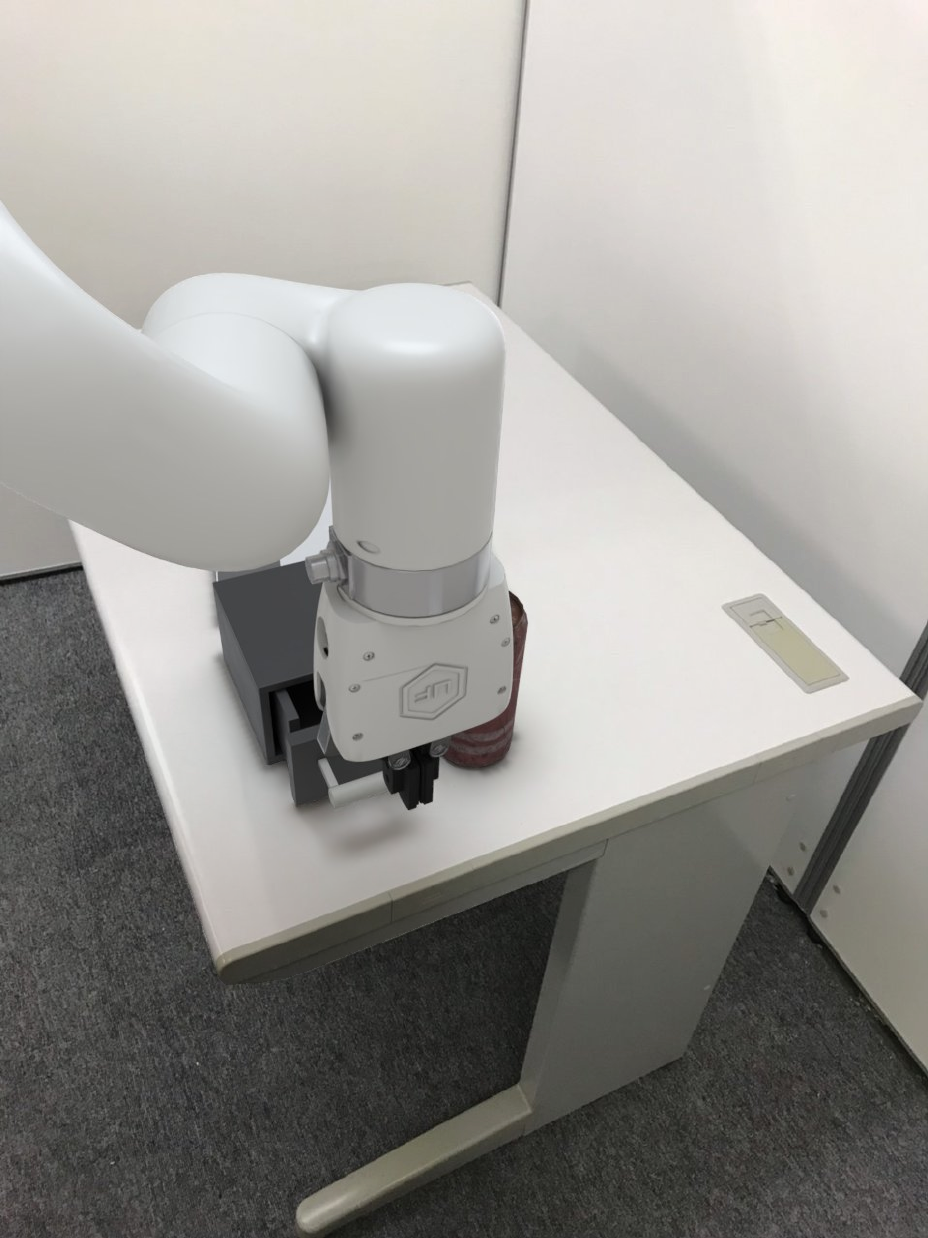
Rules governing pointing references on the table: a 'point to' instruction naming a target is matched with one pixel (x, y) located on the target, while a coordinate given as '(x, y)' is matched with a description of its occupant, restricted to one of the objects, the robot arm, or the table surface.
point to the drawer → (317, 753)
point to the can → (497, 733)
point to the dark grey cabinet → (267, 639)
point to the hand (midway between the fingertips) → (410, 788)
